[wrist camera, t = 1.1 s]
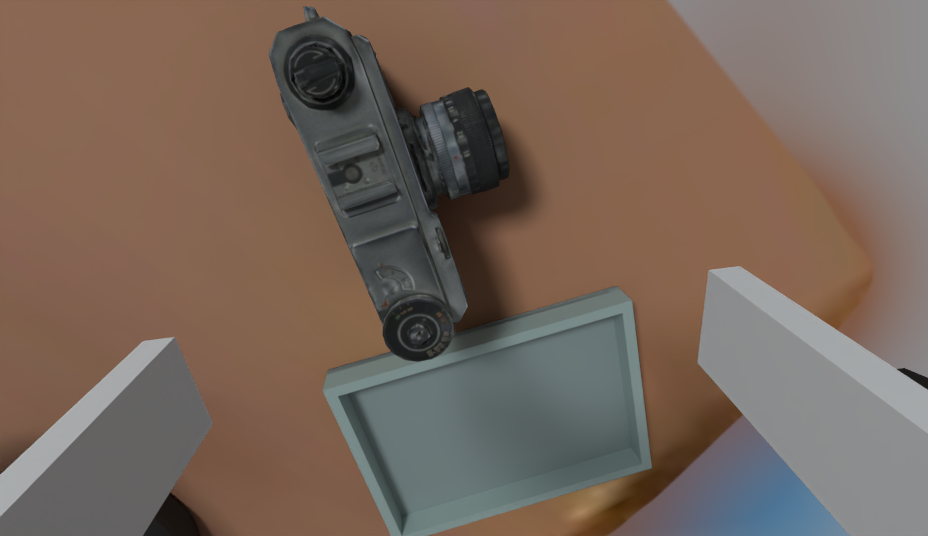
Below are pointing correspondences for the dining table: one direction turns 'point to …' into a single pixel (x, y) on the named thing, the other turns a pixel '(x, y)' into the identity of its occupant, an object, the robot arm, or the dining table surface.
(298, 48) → the camera
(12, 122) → the dining table surface
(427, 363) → the storage tray
